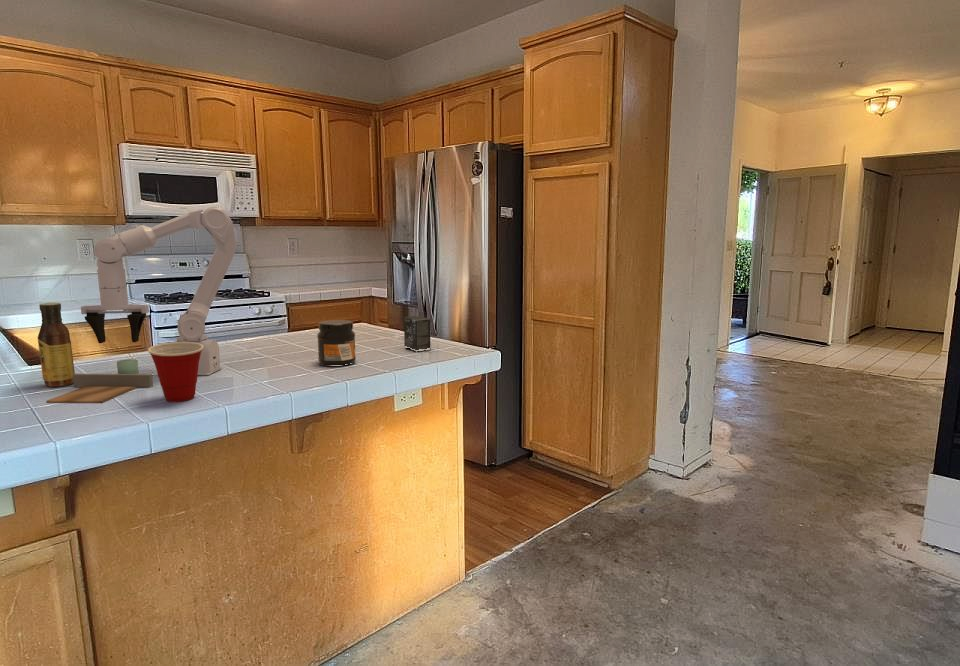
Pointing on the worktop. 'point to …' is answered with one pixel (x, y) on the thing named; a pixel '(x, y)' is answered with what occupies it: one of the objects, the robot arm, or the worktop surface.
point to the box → (417, 332)
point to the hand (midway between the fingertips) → (118, 342)
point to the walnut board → (90, 395)
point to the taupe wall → (113, 380)
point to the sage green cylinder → (127, 366)
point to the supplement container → (336, 342)
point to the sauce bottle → (55, 347)
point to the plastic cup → (177, 368)
